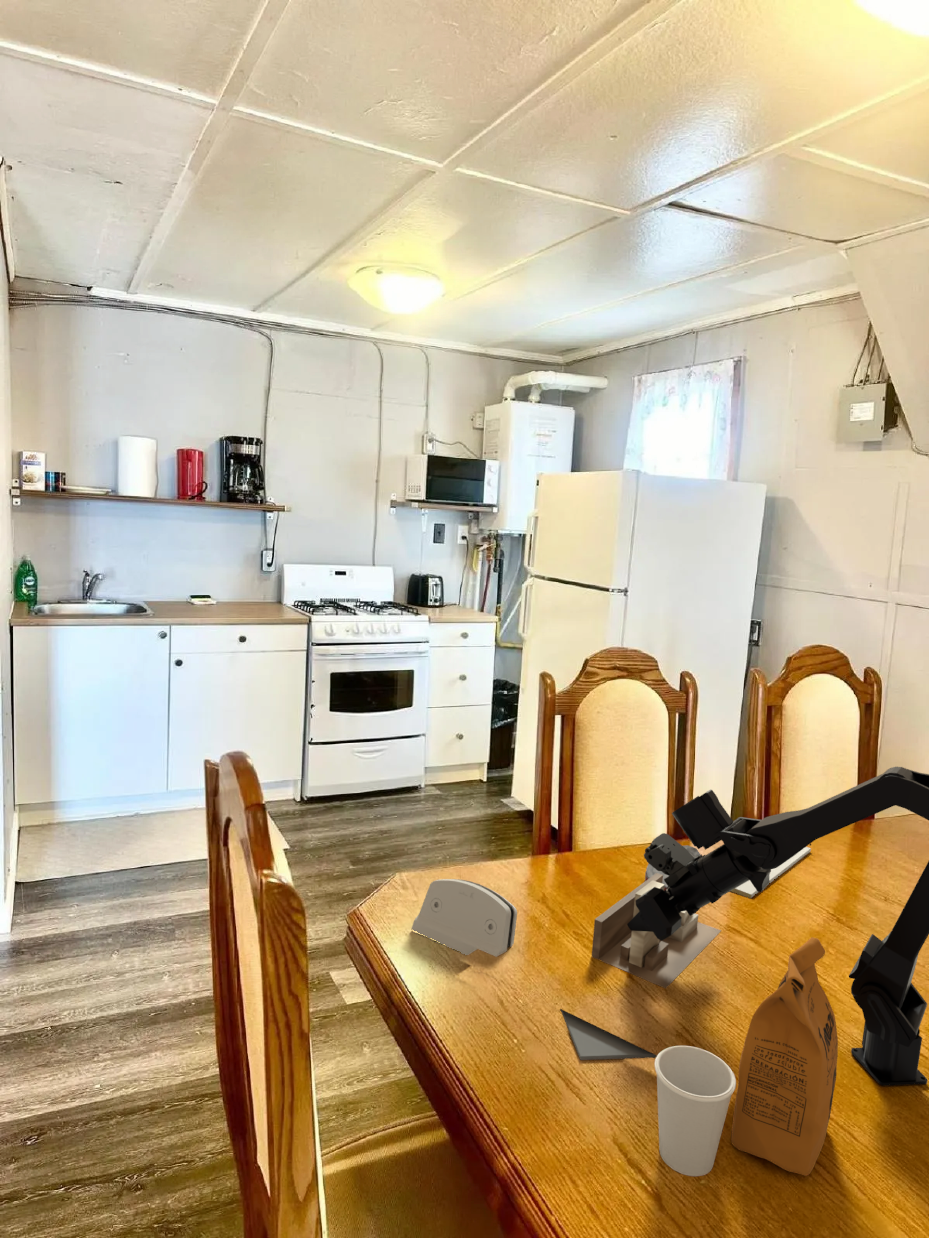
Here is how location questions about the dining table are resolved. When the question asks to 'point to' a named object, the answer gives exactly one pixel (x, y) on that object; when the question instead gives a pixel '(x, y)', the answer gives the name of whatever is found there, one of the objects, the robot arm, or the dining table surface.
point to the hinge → (467, 917)
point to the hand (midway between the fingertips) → (638, 919)
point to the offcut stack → (685, 926)
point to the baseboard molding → (771, 874)
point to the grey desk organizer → (662, 959)
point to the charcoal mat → (600, 1041)
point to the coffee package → (788, 1069)
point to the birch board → (642, 932)
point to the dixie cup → (691, 1107)
